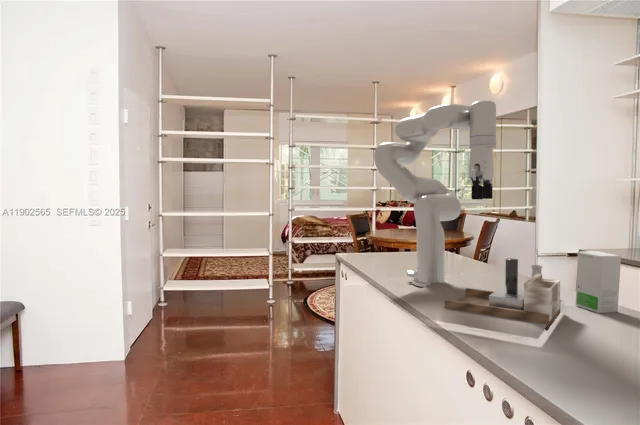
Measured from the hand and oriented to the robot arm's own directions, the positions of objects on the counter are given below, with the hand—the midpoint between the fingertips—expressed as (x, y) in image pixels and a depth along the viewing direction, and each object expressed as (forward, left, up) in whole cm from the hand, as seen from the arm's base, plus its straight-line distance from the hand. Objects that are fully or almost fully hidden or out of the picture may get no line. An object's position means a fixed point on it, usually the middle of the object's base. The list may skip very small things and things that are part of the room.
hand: (482, 199), depth 133 cm
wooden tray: (+10, -15, -30) cm, 35 cm away
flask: (+14, +8, -31) cm, 35 cm away
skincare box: (+30, +4, -31) cm, 43 cm away
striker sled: (+12, -15, -29) cm, 35 cm away
